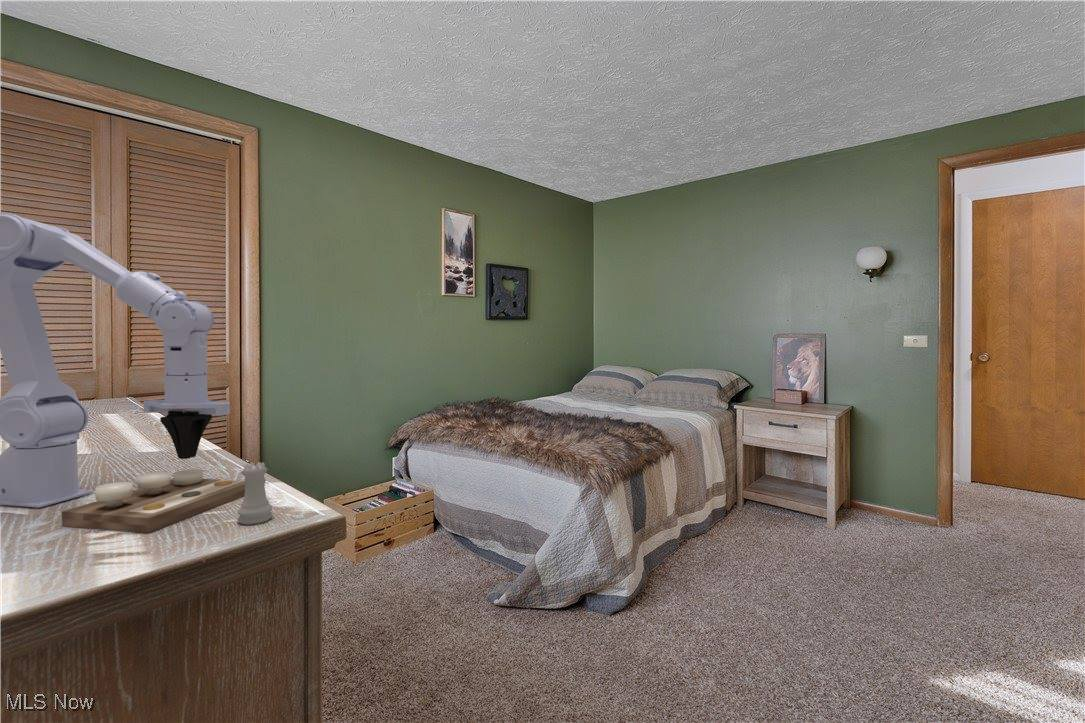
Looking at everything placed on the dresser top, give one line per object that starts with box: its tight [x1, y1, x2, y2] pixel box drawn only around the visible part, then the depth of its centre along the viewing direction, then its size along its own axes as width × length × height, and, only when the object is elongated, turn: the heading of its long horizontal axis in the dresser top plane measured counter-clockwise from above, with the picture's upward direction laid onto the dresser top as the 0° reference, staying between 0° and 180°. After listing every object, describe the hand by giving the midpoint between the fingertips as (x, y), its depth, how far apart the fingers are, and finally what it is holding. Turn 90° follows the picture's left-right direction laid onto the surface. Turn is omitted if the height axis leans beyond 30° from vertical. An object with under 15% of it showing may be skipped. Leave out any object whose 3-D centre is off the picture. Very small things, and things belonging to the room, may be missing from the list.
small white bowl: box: [172, 468, 204, 487], centre depth 83 cm, size 4×4×3 cm
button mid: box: [136, 470, 171, 495], centre depth 77 cm, size 4×4×3 cm
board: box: [61, 478, 245, 534], centre depth 77 cm, size 14×18×2 cm
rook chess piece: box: [236, 461, 274, 526], centre depth 71 cm, size 4×4×8 cm
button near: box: [94, 481, 134, 507], centre depth 71 cm, size 4×4×3 cm
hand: (187, 457), depth 83 cm, fingers closed
